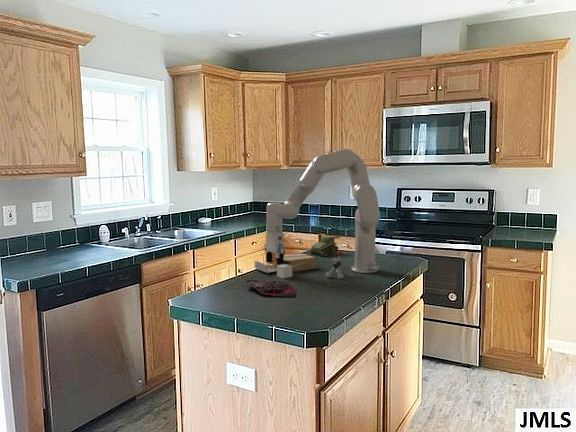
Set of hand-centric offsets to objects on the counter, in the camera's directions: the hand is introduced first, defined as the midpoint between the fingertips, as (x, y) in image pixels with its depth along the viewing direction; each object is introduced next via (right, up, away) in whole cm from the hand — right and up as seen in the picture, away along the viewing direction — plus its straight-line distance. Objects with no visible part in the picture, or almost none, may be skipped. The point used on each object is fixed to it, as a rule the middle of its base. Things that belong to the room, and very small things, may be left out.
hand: (274, 264), depth 232 cm
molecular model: (+29, -5, -9) cm, 31 cm away
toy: (+29, +1, +41) cm, 51 cm away
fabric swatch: (0, -8, -34) cm, 35 cm away
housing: (+10, -2, +7) cm, 12 cm away
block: (+5, -5, -11) cm, 13 cm away
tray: (0, -2, 0) cm, 2 cm away
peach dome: (0, -2, 0) cm, 2 cm away
